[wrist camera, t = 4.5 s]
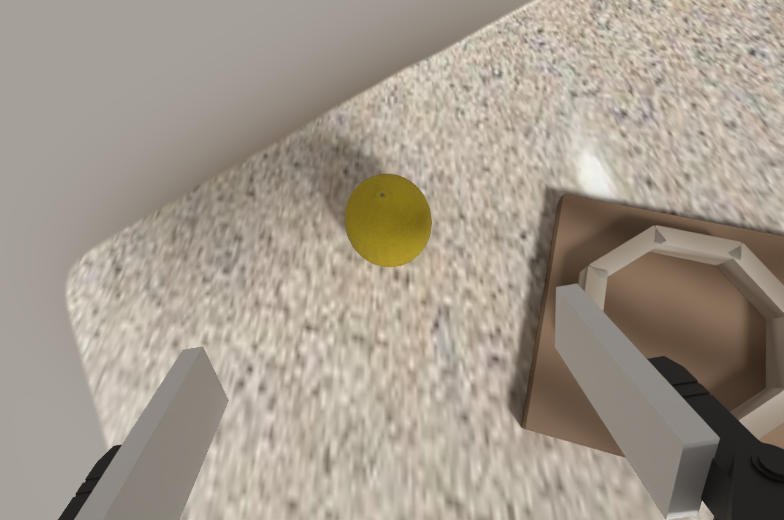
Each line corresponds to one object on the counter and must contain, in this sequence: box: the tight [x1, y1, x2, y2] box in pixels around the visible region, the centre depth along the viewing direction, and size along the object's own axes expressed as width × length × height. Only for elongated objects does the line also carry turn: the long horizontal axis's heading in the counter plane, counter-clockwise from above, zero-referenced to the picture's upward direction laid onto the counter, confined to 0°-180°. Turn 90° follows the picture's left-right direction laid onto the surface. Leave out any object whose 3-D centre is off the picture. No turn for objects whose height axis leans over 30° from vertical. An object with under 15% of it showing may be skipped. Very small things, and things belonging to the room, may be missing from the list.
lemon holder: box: [521, 194, 784, 458], centre depth 25 cm, size 16×16×3 cm
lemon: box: [345, 174, 432, 267], centre depth 26 cm, size 6×6×8 cm
